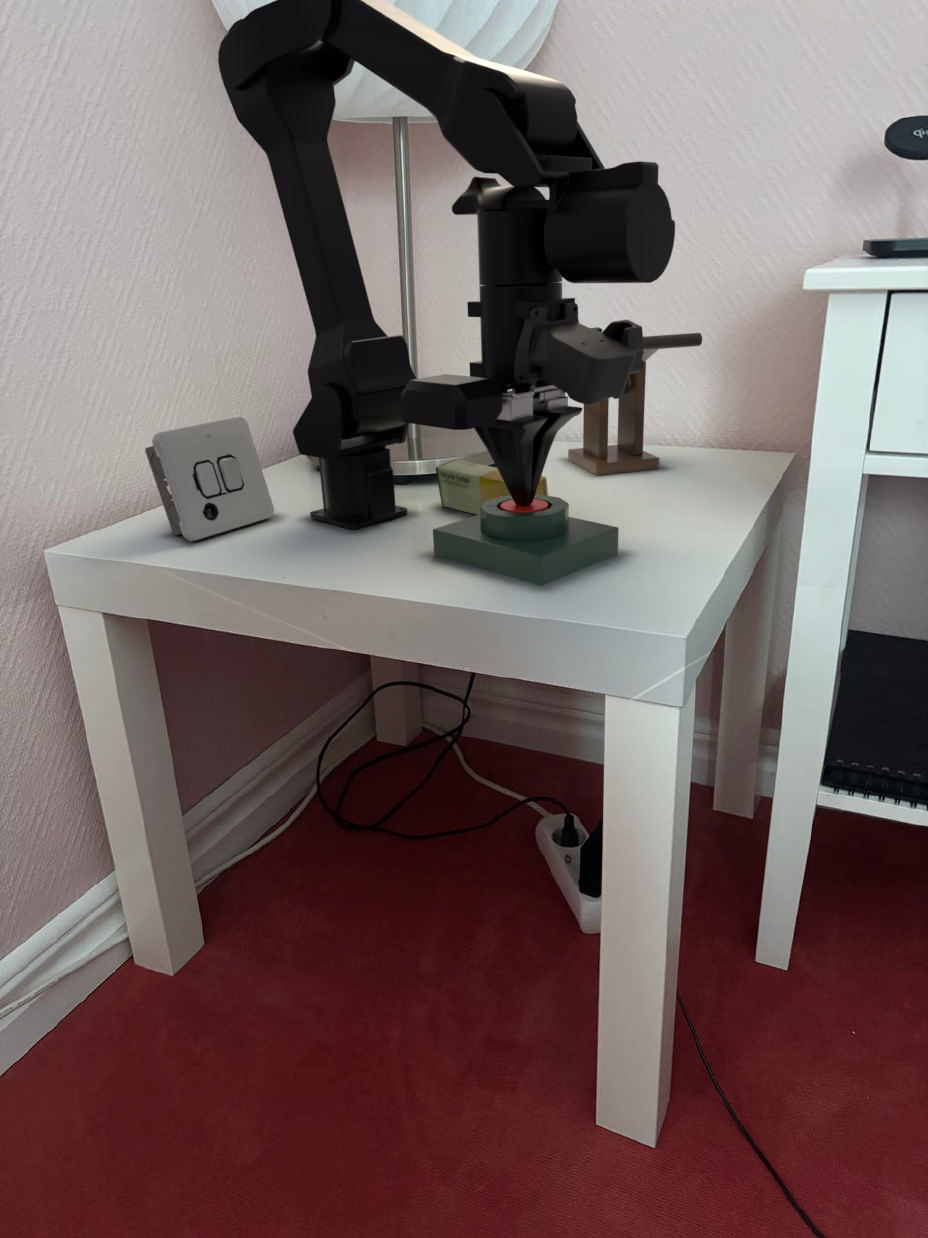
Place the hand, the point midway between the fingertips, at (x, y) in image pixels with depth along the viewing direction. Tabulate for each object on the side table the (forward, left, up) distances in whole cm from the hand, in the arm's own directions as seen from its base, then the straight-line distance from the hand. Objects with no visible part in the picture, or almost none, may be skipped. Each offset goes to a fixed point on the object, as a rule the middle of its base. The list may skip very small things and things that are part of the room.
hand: (523, 504), depth 68 cm
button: (0, 0, -2) cm, 2 cm away
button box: (0, 0, -4) cm, 4 cm away
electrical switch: (-27, -11, -4) cm, 29 cm away
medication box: (-9, +6, -4) cm, 12 cm away
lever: (-9, +27, +6) cm, 29 cm away
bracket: (-13, +29, -4) cm, 32 cm away
